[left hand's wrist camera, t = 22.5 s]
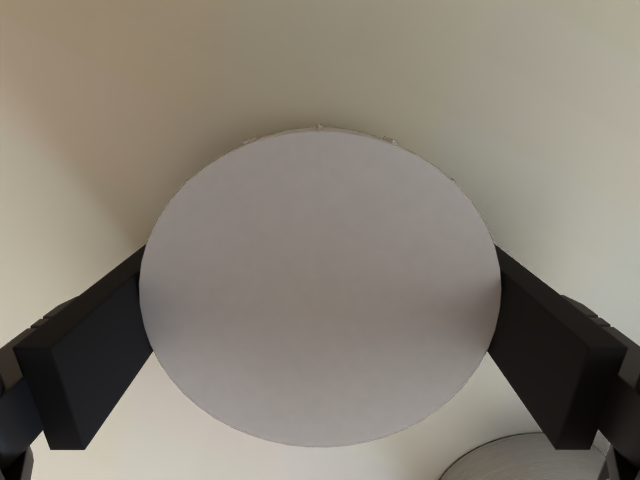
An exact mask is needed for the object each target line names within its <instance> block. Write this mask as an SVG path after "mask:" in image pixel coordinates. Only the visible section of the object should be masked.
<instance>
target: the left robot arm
mask: <svg viewBox="0 0 640 480" xmlns="http://www.w3.org/2000/svg"><path fill="white" fill-rule="evenodd" d="M494 246H495V250H496V254H497V258H498V262H499V267H500V277H501V301H500V310H499V314H498V319H497V324H496V328H495V332H494V335H493V337H492V340H491V342H490V345H489V348H488V350H487V351H488V353H489V354H490V356H491V357H492V359H493V360H494V362H495V363H496V364H497V366H498V367H499V369H500V370H501V372H502V373H503V375H504V376H505V377H506V379H507V380H508V382H509V383H510V385H511V386H512V388H513V389H514V390H515V392H516V393H517V395H518V396H519V398H520V399H521V401H522V402H523V403H524V405H525V406H526V408H527V409H528V411H529V412H530V414H531V415H532V416H533V418H534V419H535V421H536V422H537V424H538V425H539V427H540V428H541V430H542V431H543V432H544V434H545V435H546V437H547V438H548V440H549V441H550V443H551V444H552V445H553V447H554V448H555V450H590V448H591V446H592V443H593V440H594V438H595V435H596V432H597V430H598V429H599V430H600V432H601V433H602V434H603V435H604V436H605V437H606V439H607V440H608V441H609V442H610V443H611V445H610V448H609V450H608V453H607V455H606V458H605V460H604V463H603V465H602V468H601V470H600V473H599V475H598V478H597V480H607V479H609V478H610V480H640V346H638V345H637V344H636V343H634V342H633V341H632V340H630V339H629V338H628V337H626V336H625V335H624V334H622V333H621V332H619V331H618V330H617V329H615V328H614V327H611V326H610V324H609V323H607V322H606V321H605V320H603V319H602V318H598V315H597V314H595V313H594V312H593V311H591V310H590V309H588V308H587V307H586V306H584V305H583V304H581V303H579V302H577V301H575V300H573V299H570V298H568V297H566V296H564V295H559V294H558V293H557V292H556V291H554V290H553V289H552V288H550V287H549V286H548V285H547V284H545V283H544V282H543V281H541V280H540V279H539V278H537V277H536V276H535V275H534V274H532V273H531V272H530V271H528V270H527V269H526V268H525V267H523V266H522V265H521V264H519V263H518V262H517V261H515V260H514V259H513V258H512V257H510V256H509V255H508V254H506V253H505V252H504V251H503V250H501V249H500V248H499V247H497V246H496V245H495V244H494ZM145 248H146V245H144V246H143V247H142V248H140V249H139V250H138V251H137V252H135V253H134V254H133V255H131V256H130V257H129V258H127V259H126V260H125V261H124V262H122V263H121V264H120V265H118V266H117V267H116V268H115V269H113V270H112V271H111V272H109V273H108V274H107V275H105V276H104V277H103V278H102V279H100V280H99V281H98V282H96V283H95V284H94V285H93V286H91V287H90V288H89V289H87V290H86V291H85V292H83V293H82V294H81V295H80V296H77V297H75V298H73V299H71V300H69V301H67V302H65V303H62V304H60V305H58V306H57V307H55V308H54V309H53V310H51V311H50V312H49V313H47V314H46V315H45V316H43V319H39V320H38V321H37V322H35V323H34V324H33V325H31V328H27V329H26V330H25V331H23V332H22V333H21V334H19V335H18V336H17V337H15V338H14V339H13V340H11V341H10V342H9V343H7V344H6V345H5V346H3V347H2V348H1V349H0V480H31V474H32V468H33V462H34V459H33V453H32V450H31V448H30V444H31V443H32V442H33V441H34V440H35V439H36V438H37V436H38V435H39V434H40V433H41V432H42V431H44V434H45V437H46V439H47V442H48V445H49V447H50V450H85V449H86V447H87V446H88V444H89V443H90V442H91V440H92V439H93V437H94V436H95V434H96V433H97V431H98V430H99V429H100V427H101V426H102V424H103V423H104V421H105V420H106V418H107V417H108V416H109V414H110V413H111V411H112V410H113V408H114V407H115V405H116V404H117V403H118V401H119V400H120V398H121V397H122V395H123V394H124V392H125V391H126V390H127V388H128V387H129V385H130V384H131V382H132V381H133V379H134V378H135V377H136V375H137V374H138V372H139V371H140V369H141V368H142V366H143V365H144V363H145V362H146V361H147V359H148V358H149V356H150V355H151V353H152V352H153V349H152V347H151V345H150V343H149V340H148V337H147V334H146V331H145V327H144V323H143V318H142V313H141V308H140V299H139V279H140V271H141V262H142V259H143V255H144V251H145Z"/></svg>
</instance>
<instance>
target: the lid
mask: <svg viewBox="0 0 640 480" xmlns="http://www.w3.org/2000/svg"><path fill="white" fill-rule="evenodd" d="M396 143H397V141H394V140H392V139H389V138H387V137H385V136H384V138H383V139H381V138H379V137H375V136H372V135H369V134H365V133H362V132H359V131H353V130H346V129H340V128H323V127H322V124H318V127H310V128H301V129H293V130H286V131H283V132H279V133H275V134H271V135H267V136H264V137H262V138H260V139H256V137H253V138H251V139H249V140H246V141H244V142H243V144H244V145H243V146H241V147H239V148H237V149H234V150H232V151H230V152H228V153H227V154H225V155H223V156H222V157H220V158H218V159H217V160H215V161H213V162H212V163H210V164H208V165H207V166H205V167H204V168H203V169H202V170H201V171H199V172H198V173H197V174H196V175H194V176H193V177H191V178H190V179H188V180H186V181H185V182H184V183H185V184H184V185H183V186H182V188H181V189H180V190H179V191H178V192H177V193H176V194H175V195H174V196H173V197H172V199H171V200H170V201H169V203H168V204H167V206H166V207H165V209H164V210H163V212H162V213H161V215H160V216H159V218H158V219H157V221H156V223H155V225H154V228H153V230H152V232H151V234H150V236H149V239H148V241H147V244H146V248H145V251H144V255H143V259H142V262H141V271H140V279H139V299H140V308H141V313H142V318H143V323H144V327H145V331H146V334H147V337H148V340H149V343H150V345H151V347H152V349H153V351H154V353H155V355H156V357H157V359H158V361H159V363H160V364H161V366H162V367H163V368H164V370H165V371H166V373H167V374H168V376H169V377H170V379H171V380H172V381H173V382H174V383H175V384H176V385H177V387H178V388H179V389H180V390H181V391H182V392H183V393H184V394H185V395H186V396H187V397H188V398H189V399H190V400H192V401H193V402H194V403H195V404H196V405H197V406H198V407H200V408H201V409H203V410H204V411H205V412H207V413H208V414H210V415H211V416H213V417H214V418H216V419H217V420H219V421H221V422H223V423H225V424H226V425H228V426H230V427H232V428H234V429H237V430H239V431H241V432H244V433H246V434H248V435H251V436H254V437H258V438H261V439H264V440H267V441H271V442H276V443H281V444H286V445H293V446H302V447H337V446H348V445H354V444H359V443H365V442H369V441H372V440H376V439H379V438H383V437H386V436H389V435H391V434H394V433H396V432H399V431H401V430H404V429H406V428H408V427H410V426H412V425H414V424H415V423H417V422H419V421H421V420H423V419H424V418H426V417H427V416H429V415H430V414H432V413H433V412H435V411H436V410H438V409H439V408H440V407H441V406H443V405H444V404H445V403H446V402H447V401H449V400H450V399H451V398H452V397H453V396H454V395H455V394H456V393H457V392H458V391H459V390H460V389H461V388H462V387H463V386H464V385H465V384H466V383H467V381H468V380H469V378H470V377H471V376H472V374H473V373H474V372H475V370H476V369H477V368H478V366H479V364H480V363H481V361H482V359H483V357H484V355H485V353H486V352H487V350H488V348H489V345H490V342H491V340H492V337H493V335H494V332H495V328H496V324H497V319H498V314H499V310H500V301H501V277H500V267H499V262H498V258H497V254H496V250H495V246H494V243H493V241H492V238H491V236H490V233H489V231H488V229H487V226H486V224H485V223H484V221H483V219H482V218H481V216H480V214H479V213H478V211H477V209H476V208H475V206H474V205H473V203H472V202H471V201H470V200H469V199H468V197H467V196H466V195H465V194H464V193H463V191H462V190H461V189H460V188H459V187H458V186H457V185H456V184H455V183H456V182H455V181H454V180H453V179H451V178H449V177H447V176H446V175H445V174H444V173H443V172H442V171H440V170H439V169H438V168H436V167H435V166H433V165H432V164H430V163H428V162H427V161H425V160H424V159H422V158H421V157H419V156H418V155H416V154H414V153H412V152H409V151H407V150H405V149H403V148H401V147H399V146H397V145H396Z"/></svg>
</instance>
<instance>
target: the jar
mask: <svg viewBox="0 0 640 480" xmlns="http://www.w3.org/2000/svg"><path fill="white" fill-rule="evenodd" d="M605 458H606V456H605V455H604V454H603V453H602V452H600V451H599V450H598V449H597V448H595V447H594V446H591V448H590V450H555V448H554V447H553V445H552V444H551V443H550V441H549V440H548V438H547V437H546V435H545V434H544V433H531V434H522V435H515V436H511V437H506V438H502V439H499V440H496V441H493V442H490V443H488V444H485V445H483V446H481V447H479V448H477V449H475V450H473V451H471V452H470V453H468V454H466V455H465V456H463V457H462V458H461V459H459V460H458V461H456V462H455V463H454V464H453V465H452V466H451V467H450V468H449V469H448V470H447V471H446V472H445V473H444V475H443V476H442V477H441V479H440V480H597V478H598V475H599V473H600V470H601V468H602V465H603V463H604V460H605ZM607 480H610V478H609V479H607Z"/></svg>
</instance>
